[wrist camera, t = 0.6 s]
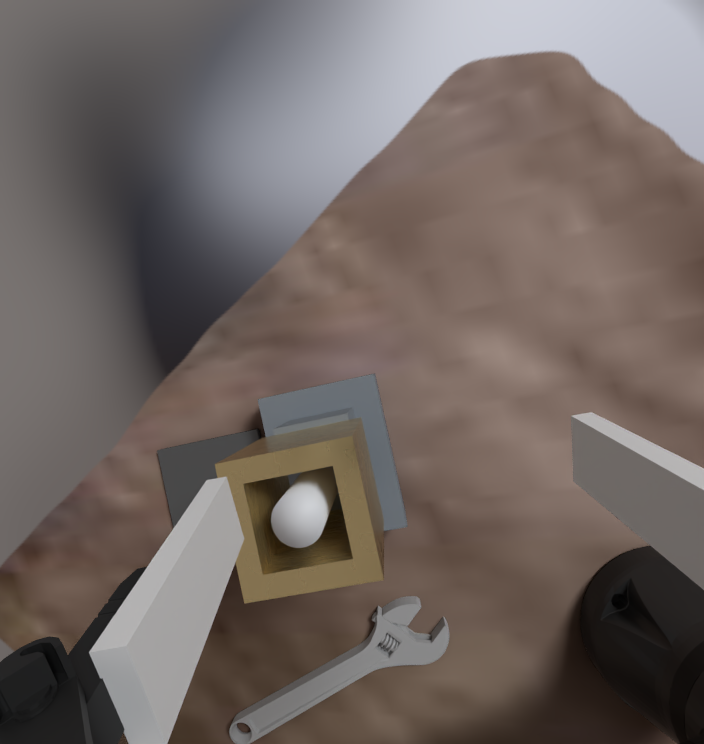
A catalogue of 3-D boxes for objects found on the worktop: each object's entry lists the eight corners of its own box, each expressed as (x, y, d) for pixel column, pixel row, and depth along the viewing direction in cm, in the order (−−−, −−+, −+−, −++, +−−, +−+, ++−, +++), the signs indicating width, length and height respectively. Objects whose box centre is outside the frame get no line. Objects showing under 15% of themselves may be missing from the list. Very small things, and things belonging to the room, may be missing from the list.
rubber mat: (283, 542, 38) (281, 544, 37) (184, 560, 39) (181, 563, 38) (258, 428, 38) (256, 429, 37) (160, 449, 39) (157, 450, 38)
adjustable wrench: (243, 736, 39) (236, 753, 37) (215, 681, 39) (207, 696, 37) (454, 638, 37) (457, 652, 35) (423, 581, 37) (425, 591, 35)
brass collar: (383, 519, 28) (383, 579, 20) (283, 538, 28) (244, 603, 20) (361, 417, 28) (352, 435, 20) (261, 437, 29) (214, 464, 21)
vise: (404, 509, 37) (423, 630, 20) (299, 529, 38) (230, 660, 21) (374, 373, 37) (367, 376, 20) (270, 396, 38) (178, 417, 21)
